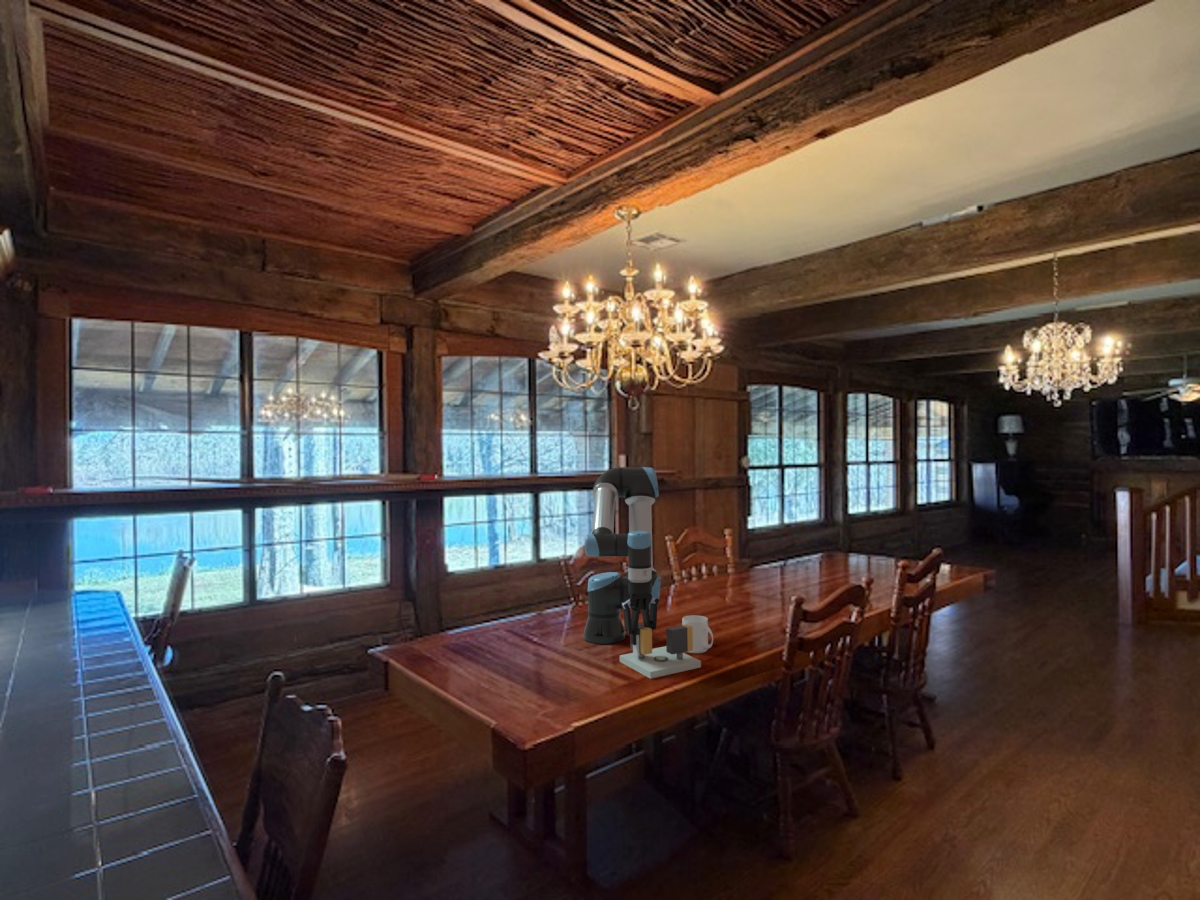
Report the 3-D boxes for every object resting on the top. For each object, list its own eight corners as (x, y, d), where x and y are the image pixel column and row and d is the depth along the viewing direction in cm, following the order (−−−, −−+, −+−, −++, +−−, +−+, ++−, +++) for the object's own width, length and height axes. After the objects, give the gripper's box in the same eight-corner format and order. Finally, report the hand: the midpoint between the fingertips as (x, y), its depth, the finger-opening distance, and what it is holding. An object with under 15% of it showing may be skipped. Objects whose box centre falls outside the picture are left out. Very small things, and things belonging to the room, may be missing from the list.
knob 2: (672, 661, 199) (671, 630, 199) (666, 659, 201) (666, 628, 201) (692, 657, 203) (692, 626, 203) (687, 654, 205) (686, 624, 205)
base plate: (619, 661, 206) (619, 653, 206) (667, 651, 216) (667, 643, 216) (650, 678, 191) (650, 669, 191) (700, 667, 200) (700, 658, 200)
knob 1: (630, 654, 206) (630, 624, 206) (638, 653, 208) (638, 623, 207) (644, 662, 199) (643, 630, 199) (652, 660, 200) (651, 629, 200)
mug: (704, 658, 208) (704, 625, 208) (677, 649, 218) (677, 618, 218) (721, 652, 214) (720, 620, 214) (694, 644, 223) (693, 613, 223)
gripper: (624, 585, 196) (626, 661, 196) (667, 579, 204) (668, 652, 204) (612, 581, 202) (613, 654, 202) (654, 575, 210) (655, 646, 211)
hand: (641, 653), depth 203 cm, fingers closed on knob 1, 3 cm apart
